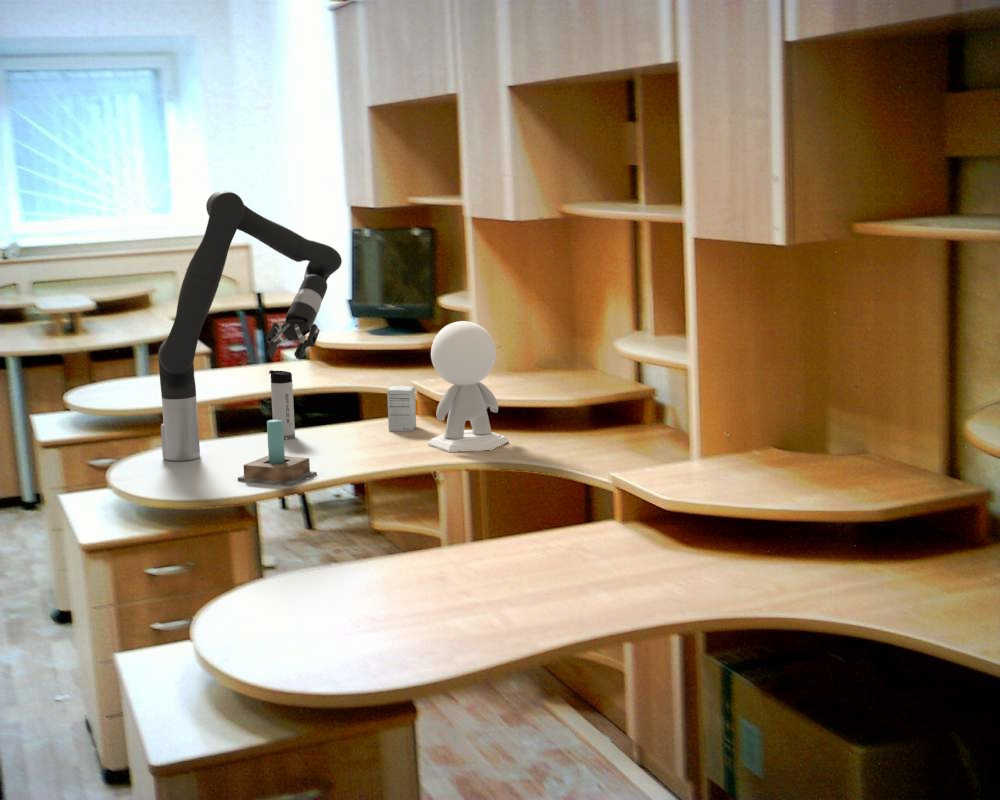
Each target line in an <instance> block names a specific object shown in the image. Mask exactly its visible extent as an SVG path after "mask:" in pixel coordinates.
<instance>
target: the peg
mask: <svg viewBox="0 0 1000 800" xmlns="http://www.w3.org/2000/svg"><path fill="white" fill-rule="evenodd" d="M266 428H267V429H266V430H267V431H266V432H267V433H266V434H267V449H268V455H269V464H278V465H280V464H283V463H285V456H286V455H285V441H284V440H285V439H284V435H283V420H273V419H269V420H267V421H266Z"/></svg>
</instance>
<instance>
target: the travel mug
mask: <svg viewBox="0 0 1000 800" xmlns="http://www.w3.org/2000/svg"><path fill="white" fill-rule="evenodd" d="M268 374H270V394H271V395H270V396H271V409H272V410H271V412H272V413H271V414H272V420H283V435H284V440H287V439H286V438H291V439H294V438H295V437H296V427H295V424H296V423H295V409H294V408H295V407H294V405H295V403H294V391H293V390H294V389H293V388H294V387H293V386H294V385H293V374H292V372H290V371H285V370H273V369H271V370H269V371H268Z"/></svg>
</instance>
